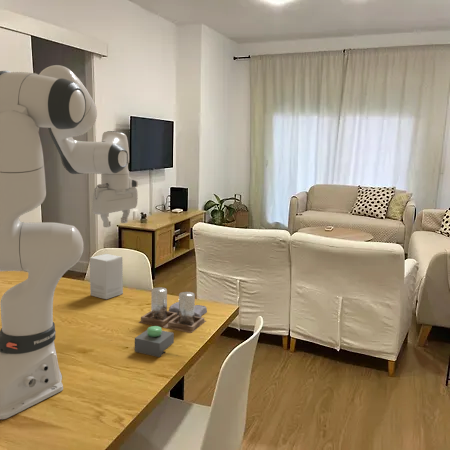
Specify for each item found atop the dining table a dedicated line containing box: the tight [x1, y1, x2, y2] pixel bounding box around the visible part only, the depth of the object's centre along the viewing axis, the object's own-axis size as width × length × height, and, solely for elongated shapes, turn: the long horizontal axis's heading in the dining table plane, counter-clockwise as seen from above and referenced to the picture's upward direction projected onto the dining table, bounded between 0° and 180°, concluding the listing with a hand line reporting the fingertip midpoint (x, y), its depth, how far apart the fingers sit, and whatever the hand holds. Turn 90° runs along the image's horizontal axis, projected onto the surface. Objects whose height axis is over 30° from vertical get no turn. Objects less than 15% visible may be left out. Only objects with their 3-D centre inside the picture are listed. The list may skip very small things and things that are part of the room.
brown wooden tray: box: [137, 310, 207, 334], centre depth 147 cm, size 11×19×2 cm, turn 68°
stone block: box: [168, 301, 208, 317], centre depth 156 cm, size 12×5×10 cm
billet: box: [150, 287, 168, 320], centre depth 148 cm, size 5×5×10 cm
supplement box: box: [89, 253, 124, 300], centre depth 173 cm, size 9×9×15 cm
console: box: [134, 329, 175, 358], centre depth 129 cm, size 8×8×4 cm
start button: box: [146, 325, 163, 338], centre depth 128 cm, size 4×4×5 cm
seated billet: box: [178, 291, 196, 326], centre depth 144 cm, size 5×5×10 cm
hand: (115, 224), depth 149 cm, fingers open, 8 cm apart
